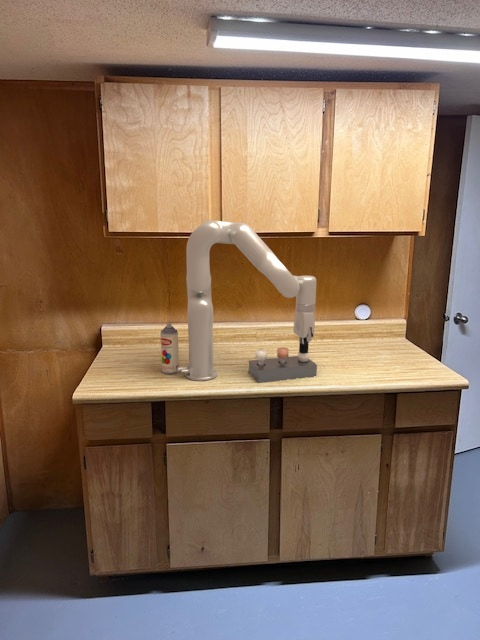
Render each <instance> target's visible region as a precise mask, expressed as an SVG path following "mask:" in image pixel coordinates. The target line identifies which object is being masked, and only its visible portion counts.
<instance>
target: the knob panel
mask: <svg viewBox="0 0 480 640" xmlns="http://www.w3.org/2000/svg"><path fill="white" fill-rule="evenodd" d="M258 364H259V360H256V359H251V360H250V359H249V360H248V374H249V375H251V376H252V377H253V379H254V380H255V381H256V382H257V383H258V384H260V383H261V384H262V383H269V382H271V383H272V382H279V381H280V380H281V381H288V380H287V379H290V380H297V379H296V378H299V379H306V378H305V377H308V378H314V376H316V377H317V374H318V373H317V371H318V370H317V368H318V364H317V363H316V362H314V361H313V360H312V359H310V358H309V361H307V362H301V361H298V355H295V356H294V355H293V356H288V358H285V364H280V358H278V357H274V358H273V357H272V358H267V359H266V360H264V366H258Z"/></svg>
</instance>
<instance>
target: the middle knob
mask: <svg viewBox="0 0 480 640" xmlns="http://www.w3.org/2000/svg"><path fill="white" fill-rule="evenodd" d="M276 355H277V357H276V358H280V364H285V358H288V357H289V348H287V347H278V348H276Z"/></svg>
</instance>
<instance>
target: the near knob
mask: <svg viewBox="0 0 480 640" xmlns="http://www.w3.org/2000/svg"><path fill="white" fill-rule="evenodd" d="M266 359H268V351H267V350H266V349H256V350H255V359H254V360H259V364H258V366H264V360H266Z"/></svg>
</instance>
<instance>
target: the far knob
mask: <svg viewBox="0 0 480 640" xmlns="http://www.w3.org/2000/svg"><path fill="white" fill-rule="evenodd" d="M297 356H298V361H301V362H307V361H309V359H310V352H309V351H308V353H302V354H301V353H300V352H299V351H298V353H297Z"/></svg>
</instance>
